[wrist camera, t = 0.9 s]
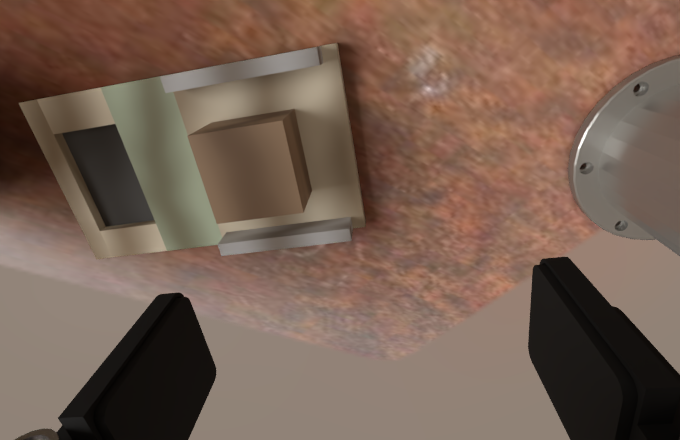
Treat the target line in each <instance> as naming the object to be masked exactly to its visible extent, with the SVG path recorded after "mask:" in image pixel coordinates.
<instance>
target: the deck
mask: <svg viewBox="0 0 680 440" xmlns="http://www.w3.org/2000/svg"><path fill="white" fill-rule="evenodd" d="M19 105H20V107H21V109H22V111H23V113H24V115H25V117H26V119H27V121H28V123H29V125H30V127H31V129H32V131H33V133H34V135H35V137H36V139H37V141H38V143H39V145H40V147H41V149H42V151H43V153H44V155H45V157H46V159H47V161H48V163H49V165H50V167H51V169H52V171H53V173H54V175H55V177H56V179H57V181H58V183H59V185H60V187H61V189H62V191H63V193H64V195H65V197H66V199H67V201H68V203H69V205H70V207H71V209H72V211H73V213H74V215H75V217H76V219H77V221H78V223H79V225H80V227H81V229H82V231H83V233H84V235H85V237H86V239H87V241H88V243H89V245H90V247H91V249H92V251H93V253H94V255H95V257H96V259H103V258H111V257H119V256H128V255H136V254H144V253H153V252H161V251H169V250H178V249H186V248H194V247H203V246H211V245H218V247H219V250H220V253H221V256H225V255H234V254H242V253H251V252H260V251H268V250H277V249H286V248H294V247H303V246H311V245H320V244H329V243H337V242H346V241H352V231H353V228H361V227H366V219H365V213H364V207H363V200H362V194H361V188H360V181H359V175H358V169H357V162H356V156H355V150H354V144H353V137H352V131H351V125H350V118H349V112H348V106H347V99H346V93H345V87H344V80H343V74H342V68H341V62H340V55H339V49H338V43H335V44H329V45H324V46H319V47H313V48H308V49H303V50H297V51H292V52H287V53H281V54H276V55H271V56H265V57H260V58H255V59H249V60H244V61H239V62H233V63H228V64H223V65H217V66H212V67H207V68H202V69H196V70H191V71H186V72H180V73H175V74H170V75H164V76H159V77H154V78H148V79H143V80H138V81H132V82H127V83H122V84H116V85H111V86H106V87H100V88H95V89H90V90H84V91H79V92H74V93H69V94H63V95H58V96H53V97H47V98H42V99H37V100H31V101H26V102H21V103H19ZM289 109H295V113H296V118H297V123H298V127H299V132H300V136H301V141H302V146H303V150H304V155H305V160H306V164H307V169H308V174H309V178H310V183H311V188H312V192H311V195H310V197H309V200H308V203H307V205H306V208H305V211H304V213H299V214H291V215H283V216H276V217H268V218H260V219H252V220H244V221H237V222H229V223H221V224H217V223H216V220H215V217H214V214H213V211H212V208H211V205H210V202H209V199H208V196H207V193H206V190H205V187H204V184H203V182H202V179H201V176H200V173H199V170H198V167H197V164H196V161H195V158H194V155H193V152H192V149H191V146H190V143H189V140H188V137H187V136H188V135H190V134H192V133H194V132H195V131H197V130H199V129H201V128H203V127H204V126H206V125H208V124H210V123H212V122H218V121H224V120H230V119H236V118H242V117H248V116H254V115H260V114H266V113H272V112H277V111H283V110H289Z"/></svg>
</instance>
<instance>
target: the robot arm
mask: <svg viewBox="0 0 680 440" xmlns="http://www.w3.org/2000/svg"><path fill="white" fill-rule="evenodd" d="M635 86H636V88H635V89H634V87H635ZM583 163H584V164H583ZM582 164H583V166H582V167H581V165H582ZM568 177H569V186H570V189H571V192H572V195H573V198H574V200H575V202H576V203H577V205H578V206H579V208H580V210H581V211H582V212H583V213H584V214H585V215H586V216H587V217H588V218H589V219H590V220H591V221H593V222H594V223H595V224H597V225H598V226H599V227H601V228H602V229H604V230H606V231H608V232H610V233H612V234H614V235H617V236H621V237H626V238H630V239H640V240H655V239H657V240H658V241H659V242H661V243H662V244H664V245H665V246H667V247H668V248H669V249H671V250H672V251H673V252H675V253H676V254H677V255H679V256H680V55H678V56H673V57H670V58H667V59H664V60H661V61H658V62H655V63H652V64H650V65H648V66H646V67H644V68H643V69H641V70H639V71H637V72H635V73H633V74H631V75H630V76H628V77H627V78H626V79H624V80H623V81H622V82H620V83H619V84H617V85H616V86H615V87H613V88H612V89H611V90H610V91H609V92H608V93H607V94H606V95H605V96H604V97H603V98H602V99H601V100H600V101H599V102H598V103H597V104H596V105H595V107H594V108H593V109H592V111H591V112H590V113H589V115H588V116H587V117H586V118H585V120H584V122H583V124H582V126H581V127H580V129H579V131H578V133H577V135H576V137H575V140H574V143H573V146H572V149H571V152H570V157H569V165H568ZM528 349H529V354H530V358H531V361H532V363H533V365H534V367H535V369H536V371H537V373H538V375H539V377H540V379H541V381H542V383H543V385H544V387H545V389H546V391H547V393H548V395H549V397H550V399H551V401H552V403H553V405H554V407H555V409H556V411H557V413H558V416H559V417H560V419H561V422H562V423H563V426H564V428H565V429H566V432H567V434H568V436H569V438H570V440H680V375H679V373H678V372H677V371H676V370H675V369H674V368H673V367H672V366H671V365H670V364H669V363H668V362H667V360H666V359H665V358H664V357H663V356H662V355H661V354H660V353H659V352H658V350H657V349H656V348H655V347H654V346H653V345H652V344H651V343H650V341H649V340H648V339H647V338H646V337H645V336H644V335H643V334H642V333H641V332H640V330H639V329H638V328H637V327H636V326H635V325H634V324H633V323H632V322H631V321H630V320H629V318H628V317H627V316H626V315H625V314H624V313H623V312H622V311H621V310H620V309H618V308H616V307H613V306H611V305H610V304H609V303H608V301H607V300H606V299H605V298H604V297H603V296H602V295H601V294H600V293H599V291H598V290H597V289H596V288H595V287H594V286H593V284H592V283H591V282H590V281H589V280H588V279H587V278H586V277H585V276H584V274H583V273H582V272H581V271H580V270H579V269H578V268H577V267H576V265H575V264H574V263H573V262H572V261H571V260H570V259H569V258H568V257H558V258H547V259H542V260H541V262H540V265H535V266H534V267H533V275H532V292H531V310H530V326H529V342H528ZM215 377H216V367H215V364H214V361H213V359H212V356H211V354H210V351H209V348H208V346H207V343H206V341H205V338H204V335H203V333H202V330H201V328H200V325H199V323H198V320H197V317H196V315H195V312H194V310H193V307H192V304H191V302H190V300H189V299H188V298H187V297H184V296H183V295H182V294H181V293H169V294H160V295H158V296H157V297H156V298H155V299H154V300H153V302H152V303H151V304H150V305H149V307H148V308H147V309H146V310H145V312H144V313H143V314H142V315H141V316H140V318H139V319H138V320H137V321H136V323H135V324H134V325H133V326H132V328H131V329H130V330H129V331H128V333H127V334H126V335H125V336H124V338H123V339H122V340H121V341H120V342H119V344H118V345H117V346H116V348H115V349H114V350H113V351H112V352H111V353H110V355H109V356H108V357H107V358H106V360H105V361H104V362H103V363H102V365H101V366H100V367H99V368H98V370H97V371H96V372H95V373H94V374H93V376H92V377H91V378H90V379H89V381H88V382H87V383H86V384H85V385H84V387H83V388H82V389H81V390H80V392H79V393H78V394H77V395H76V397H75V398H74V399H73V400H72V401H71V403H70V404H69V405H68V406H67V408H66V409H65V410H64V411H63V413H62V414H61V415H60V416H59V417H58V419H59V420H60V422H61V423H62V427H61V428H60V429H59V430H58V432H55V431H54V430H52V429H39V430H35V431H31V432H29V433H27V434H25V435H22V436H20V437H18V438H17V439H15V440H188V439H189V437H190V434H191V432H192V430H193V428H194V425H195V423H196V421H197V419H198V417H199V414H200V412H201V410H202V407H203V405H204V403H205V401H206V398H207V396H208V394H209V392H210V389H211V388H212V385H213V383H214V381H215Z"/></svg>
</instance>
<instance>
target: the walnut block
mask: <svg viewBox="0 0 680 440" xmlns="http://www.w3.org/2000/svg"><path fill="white" fill-rule="evenodd" d="M187 137H188V140H189V143H190V146H191V149H192V152H193V155H194V158H195V161H196V164H197V167H198V170H199V173H200V176H201V179H202V182H203V184H204V187H205V190H206V193H207V196H208V199H209V202H210V205H211V208H212V211H213V214H214V217H215V220H216V223H217V224H221V223H229V222H237V221H244V220H252V219H260V218H268V217H276V216H283V215H291V214H299V213H304V211H305V208H306V205H307V203H308V200H309V197H310V195H311V192H312V188H311V183H310V178H309V174H308V169H307V164H306V160H305V155H304V150H303V146H302V141H301V136H300V132H299V127H298V123H297V118H296V113H295V109H289V110H283V111H277V112H272V113H266V114H260V115H254V116H248V117H242V118H236V119H230V120H224V121H218V122H212V123H210V124H208V125H206V126H204V127H203V128H201V129H199V130H197V131H195V132H194V133H192V134H190V135H188V136H187Z"/></svg>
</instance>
